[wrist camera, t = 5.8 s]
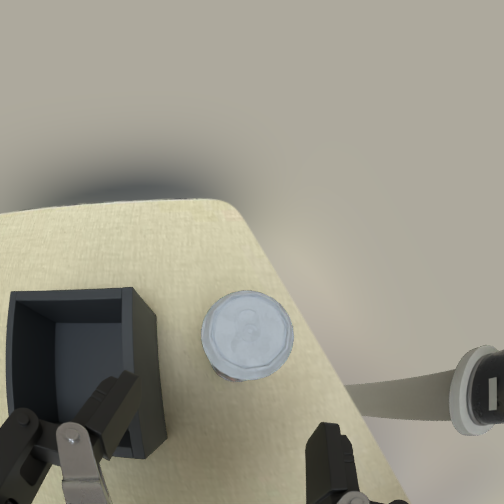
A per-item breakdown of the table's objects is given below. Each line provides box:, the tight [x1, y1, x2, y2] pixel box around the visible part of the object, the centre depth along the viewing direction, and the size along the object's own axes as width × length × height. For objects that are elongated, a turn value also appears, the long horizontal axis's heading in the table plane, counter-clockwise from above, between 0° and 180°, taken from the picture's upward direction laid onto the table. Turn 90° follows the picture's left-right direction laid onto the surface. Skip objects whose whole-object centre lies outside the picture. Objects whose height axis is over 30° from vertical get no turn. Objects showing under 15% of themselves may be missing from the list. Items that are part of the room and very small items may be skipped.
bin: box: [6, 287, 167, 459], centre depth 18 cm, size 12×12×8 cm
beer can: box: [201, 291, 294, 382], centre depth 18 cm, size 5×5×12 cm
